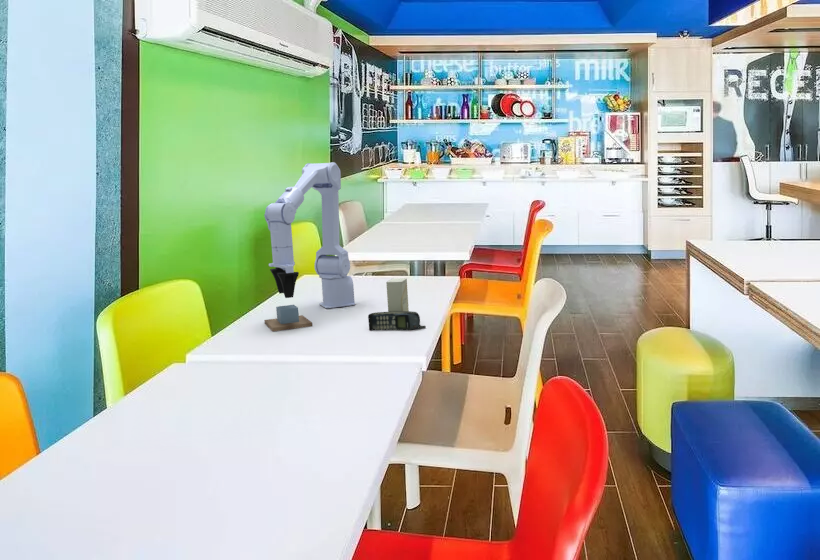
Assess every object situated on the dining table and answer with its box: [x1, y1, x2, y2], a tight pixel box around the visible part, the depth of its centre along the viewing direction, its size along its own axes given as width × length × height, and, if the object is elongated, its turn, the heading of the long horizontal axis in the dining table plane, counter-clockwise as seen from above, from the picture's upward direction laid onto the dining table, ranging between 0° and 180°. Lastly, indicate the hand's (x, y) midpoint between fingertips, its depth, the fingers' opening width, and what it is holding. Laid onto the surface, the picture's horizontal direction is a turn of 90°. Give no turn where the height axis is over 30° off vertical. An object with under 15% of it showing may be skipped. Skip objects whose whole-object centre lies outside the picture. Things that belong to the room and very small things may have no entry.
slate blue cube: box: [276, 304, 300, 324], centre depth 206 cm, size 5×5×4 cm
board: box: [264, 314, 313, 332], centre depth 206 cm, size 11×11×4 cm
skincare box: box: [386, 277, 410, 312], centre depth 201 cm, size 6×4×12 cm
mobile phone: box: [367, 311, 427, 331], centre depth 196 cm, size 5×3×15 cm
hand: (286, 295), depth 205 cm, fingers open, 7 cm apart
